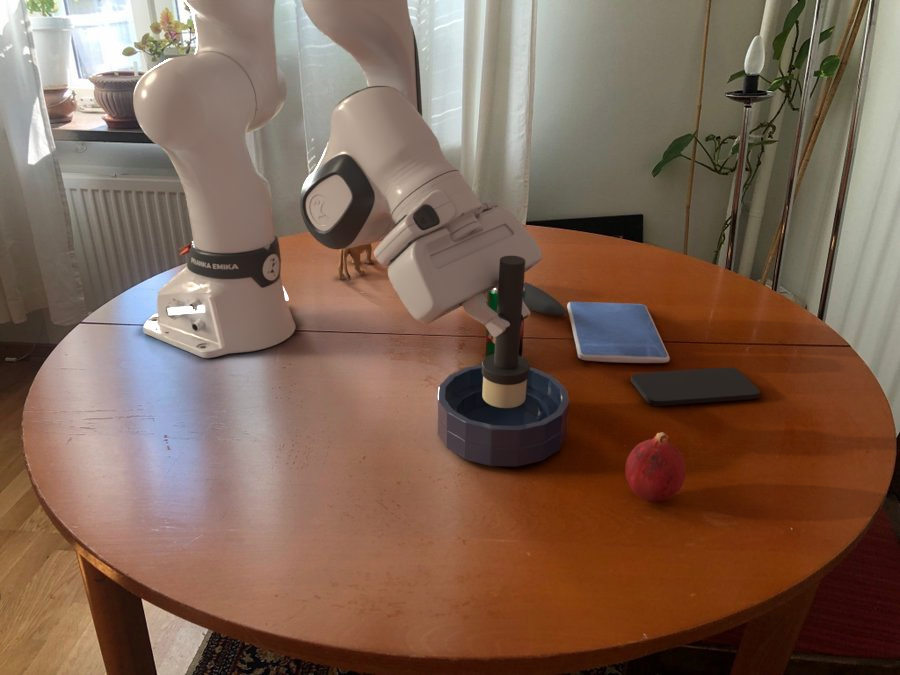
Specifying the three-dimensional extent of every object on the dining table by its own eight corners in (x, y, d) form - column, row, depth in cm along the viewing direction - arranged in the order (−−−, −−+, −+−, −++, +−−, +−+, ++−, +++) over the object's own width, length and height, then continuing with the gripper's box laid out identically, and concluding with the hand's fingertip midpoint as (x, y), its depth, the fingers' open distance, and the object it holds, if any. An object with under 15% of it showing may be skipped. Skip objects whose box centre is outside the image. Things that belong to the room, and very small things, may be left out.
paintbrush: (578, 313, 117) (580, 284, 114) (560, 323, 113) (562, 293, 111) (481, 282, 129) (481, 254, 126) (462, 290, 125) (462, 262, 123)
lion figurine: (349, 254, 141) (346, 208, 137) (376, 255, 140) (375, 209, 136) (334, 283, 127) (331, 233, 123) (365, 284, 127) (363, 234, 123)
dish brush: (479, 407, 80) (486, 267, 73) (481, 384, 85) (487, 249, 78) (527, 410, 80) (539, 270, 73) (526, 386, 85) (537, 252, 77)
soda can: (526, 357, 103) (531, 277, 98) (514, 373, 99) (518, 290, 94) (493, 350, 105) (496, 271, 100) (479, 366, 101) (481, 284, 96)
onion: (669, 526, 72) (681, 458, 68) (613, 506, 74) (621, 439, 71) (686, 494, 76) (698, 429, 73) (632, 476, 79) (641, 412, 75)
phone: (764, 394, 93) (651, 402, 91) (762, 399, 93) (650, 408, 91) (734, 366, 99) (628, 373, 97) (733, 371, 100) (627, 378, 98)
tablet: (566, 307, 119) (566, 299, 118) (645, 309, 118) (646, 301, 118) (578, 364, 102) (578, 355, 101) (670, 367, 101) (672, 358, 100)
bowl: (416, 452, 83) (416, 410, 80) (467, 392, 95) (468, 354, 92) (542, 486, 77) (545, 442, 75) (579, 417, 89) (583, 378, 87)
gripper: (478, 213, 89) (543, 308, 88) (361, 258, 74) (437, 374, 73) (512, 182, 84) (580, 283, 83) (395, 224, 69) (476, 347, 69)
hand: (513, 326), depth 78 cm, fingers closed on dish brush, 2 cm apart
